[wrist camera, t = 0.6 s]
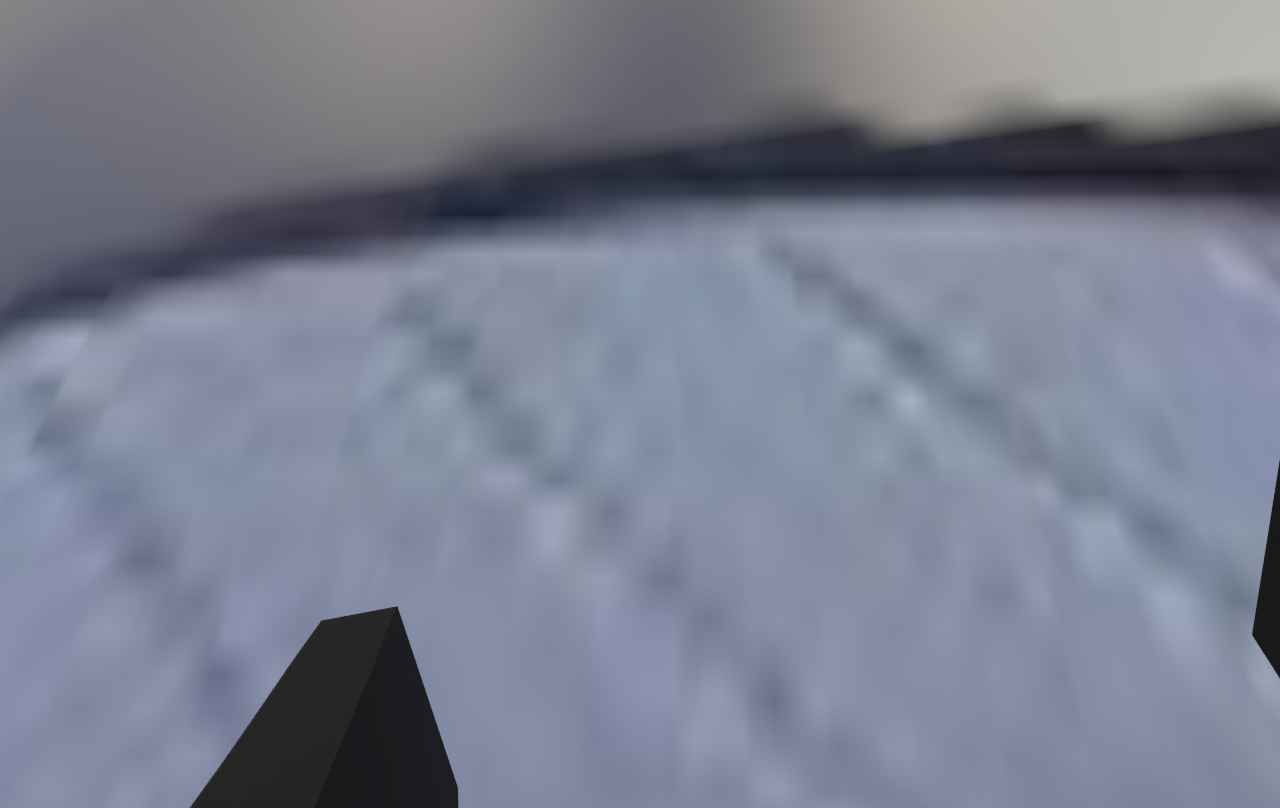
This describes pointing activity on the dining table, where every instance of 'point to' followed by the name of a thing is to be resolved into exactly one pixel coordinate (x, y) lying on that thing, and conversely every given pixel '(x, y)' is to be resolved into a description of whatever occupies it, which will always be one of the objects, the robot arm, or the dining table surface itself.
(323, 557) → the dining table surface
